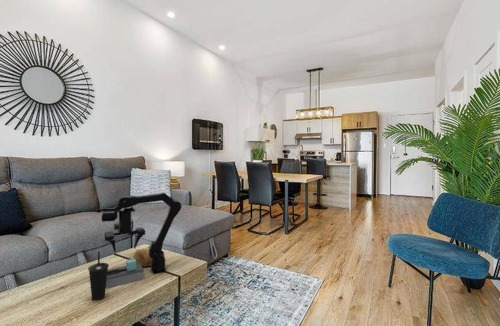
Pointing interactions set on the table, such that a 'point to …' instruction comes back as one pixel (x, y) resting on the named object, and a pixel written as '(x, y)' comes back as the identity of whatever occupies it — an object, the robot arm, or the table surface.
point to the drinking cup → (98, 279)
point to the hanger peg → (130, 264)
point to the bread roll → (142, 257)
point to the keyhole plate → (124, 276)
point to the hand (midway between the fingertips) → (124, 250)
